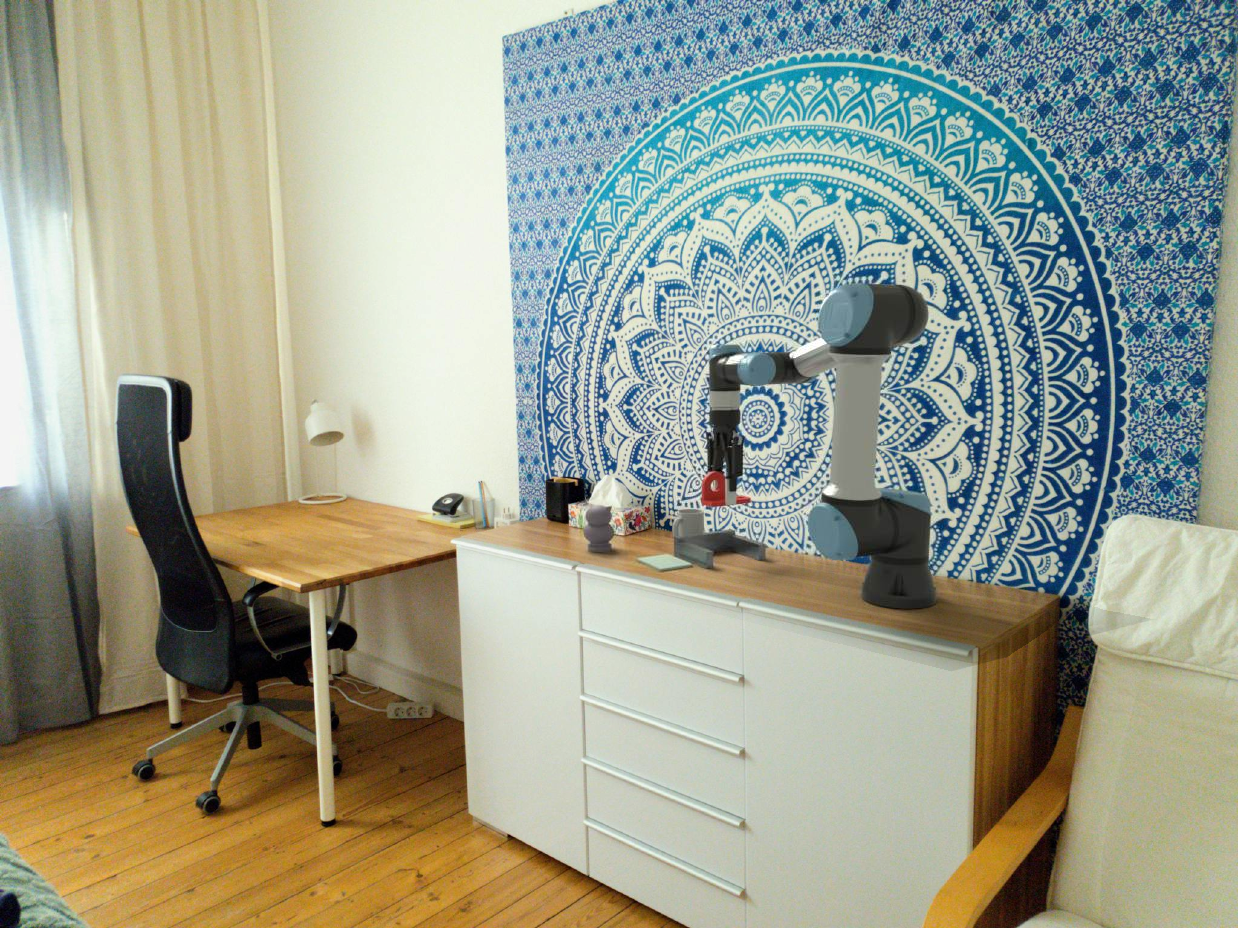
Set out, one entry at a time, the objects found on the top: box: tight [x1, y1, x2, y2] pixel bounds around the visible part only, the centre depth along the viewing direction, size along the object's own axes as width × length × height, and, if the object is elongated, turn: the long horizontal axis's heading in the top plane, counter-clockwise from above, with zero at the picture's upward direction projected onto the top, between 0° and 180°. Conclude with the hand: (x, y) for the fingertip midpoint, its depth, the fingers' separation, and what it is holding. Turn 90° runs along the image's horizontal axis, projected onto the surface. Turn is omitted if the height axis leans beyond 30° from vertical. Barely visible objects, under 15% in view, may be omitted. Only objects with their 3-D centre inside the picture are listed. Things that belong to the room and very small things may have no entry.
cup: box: [671, 508, 705, 538], centre depth 237 cm, size 7×10×9 cm
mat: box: [636, 553, 694, 572], centre depth 217 cm, size 12×9×1 cm
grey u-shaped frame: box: [673, 528, 767, 569], centre depth 224 cm, size 20×18×5 cm
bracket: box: [701, 471, 752, 508], centre depth 217 cm, size 12×4×8 cm, turn 117°
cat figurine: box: [583, 503, 615, 553], centre depth 233 cm, size 8×8×12 cm
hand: (724, 502), depth 217 cm, fingers closed on bracket, 4 cm apart
